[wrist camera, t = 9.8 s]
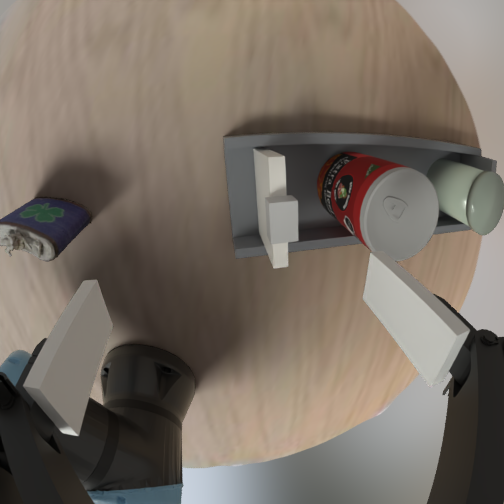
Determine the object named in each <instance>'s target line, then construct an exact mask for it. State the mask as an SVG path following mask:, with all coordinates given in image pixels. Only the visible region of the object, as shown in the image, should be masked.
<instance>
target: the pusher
mask: <svg viewBox="0 0 504 504" xmlns="http://www.w3.org/2000/svg"><path fill="white" fill-rule="evenodd" d="M253 151H254V165H255V179H256V194H257V209H258V224H259V233H260V236H261V238H262V241H263V243H264V246H265V248H266V251H267V253H268V256H269V258H270V261H271V263H272V266H273V268H274V269H275V268H283V267H288V242H295V241H298V200H297V199H296V198H294V197H293V196H292V195H287V193H286V167H285V156H283V155H281V154H279V153H277V152H274V151H272V150H270V149H267V148H254V149H253Z"/></svg>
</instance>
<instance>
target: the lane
mask: <svg viewBox="0 0 504 504" xmlns="http://www.w3.org/2000/svg"><path fill="white" fill-rule="evenodd" d="M223 143H224V154H225V165H226V175H227V186H228V196H229V206H230V216H231V226H232V236H233V244H234V250H235V256H236V259H237V258H246V257H254V256H263V255H268V253H267V251H266V248H265V246H264V243H263V241H262V238H261V236H260V233H259V224H258V209H257V194H256V179H255V165H254V151H253V149H254V148H267V149H270V150H272V151H274V152H277V153H279V154H281V155H283V156H285V167H286V193H287V195H292V196H293V197H294V198H296V199H297V200H298V241H295V242H288V252H296V251H304V250H312V249H321V248H329V247H337V246H345V245H353V244H361V243H362V242H361V241H360V240H358V239H357V238H356V237H355V236H354V235H353V234H352V233H351V232H350V231H348V230H347V229H346V228H345V227H344V226H343V225H342V224H341V223H339V222H338V221H337V220H336V219H335V218H334V217H333V216H331V215H330V214H329V213H328V212H327V211H326V210H325V209H324V207H323V205H322V204H321V202H320V199H319V196H318V191H317V179H318V175H319V173H320V170H321V168H322V167H323V165H324V164H325V163H326V162H327V161H328V160H329V159H330V158H332V157H334V156H335V155H337V154H340V153H343V152H357V153H361V154H365V155H369V156H373V157H376V158H380V159H384V160H387V161H391V162H394V163H397V164H401V165H404V166H406V167H409V168H412V169H414V170H417V171H418V172H420V173H422V174H423V175H425V176H426V175H427V172H428V170H429V168H430V166H431V165H432V164H433V163H434V162H435V161H436V160H438V159H442V158H444V159H448V160H452V161H455V162H459V163H462V164H465V165H468V166H471V167H474V168H477V169H480V170H483V171H491V172H494V173H496V163H497V161H495V160H492V159H489V158H485V157H482V156H481V149H479V148H476V147H472V146H467V145H463V144H458V143H452V142H446V141H439V140H433V139H425V138H417V137H408V136H398V135H386V134H372V133H352V132H283V133H262V134H248V135H235V136H225V137H223ZM464 230H471V228H470V227H469V226H467V225H466V224H464V223H462V222H460V221H459V220H457V219H455V218H453V217H451V216H450V215H448V214H446V213H444V212H442V211H440V210H439V216H438V222H437V225H436V228H435V231H434V233H433V234H441V233H448V232H456V231H464Z"/></svg>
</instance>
